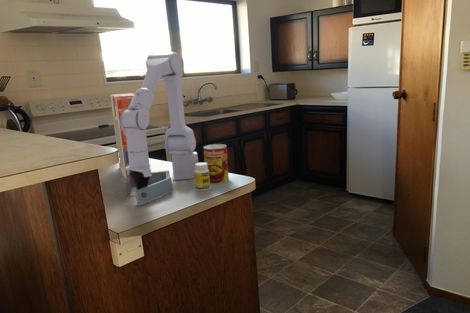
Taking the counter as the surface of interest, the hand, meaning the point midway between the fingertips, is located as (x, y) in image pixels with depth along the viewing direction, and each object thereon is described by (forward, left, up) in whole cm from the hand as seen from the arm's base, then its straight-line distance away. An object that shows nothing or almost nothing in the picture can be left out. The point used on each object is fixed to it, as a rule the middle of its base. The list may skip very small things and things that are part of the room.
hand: (142, 195), depth 112 cm
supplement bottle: (-19, -5, -2) cm, 19 cm away
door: (-4, 0, -2) cm, 4 cm away
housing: (-2, -11, -2) cm, 12 cm away
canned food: (-25, -13, -2) cm, 28 cm away
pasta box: (+5, -37, -2) cm, 37 cm away
